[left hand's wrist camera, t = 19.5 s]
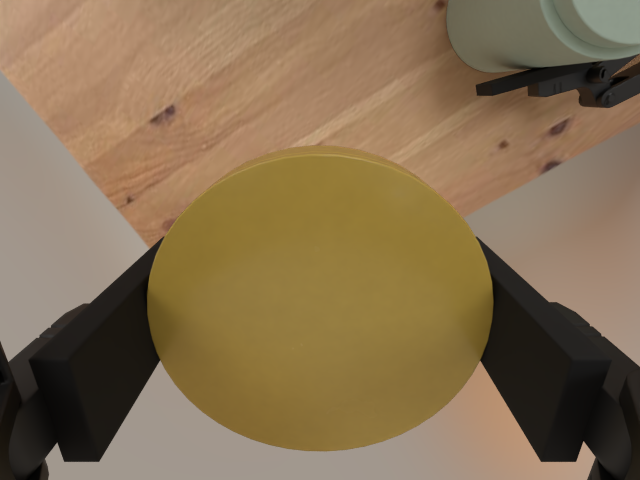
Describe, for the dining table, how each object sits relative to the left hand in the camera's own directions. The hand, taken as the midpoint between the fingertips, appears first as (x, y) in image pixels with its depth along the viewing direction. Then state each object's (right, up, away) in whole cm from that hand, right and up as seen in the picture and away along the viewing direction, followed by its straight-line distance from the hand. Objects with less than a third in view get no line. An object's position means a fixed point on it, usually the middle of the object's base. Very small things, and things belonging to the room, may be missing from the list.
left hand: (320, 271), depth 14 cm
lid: (0, -1, -3) cm, 3 cm away
